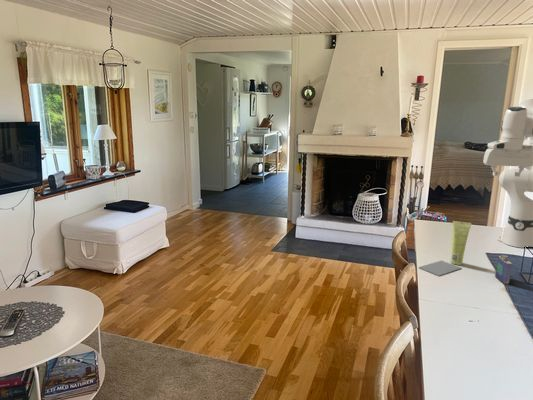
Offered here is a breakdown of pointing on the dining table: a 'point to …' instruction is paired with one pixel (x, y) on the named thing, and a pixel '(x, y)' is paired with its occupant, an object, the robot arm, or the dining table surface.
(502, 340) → the dining table surface
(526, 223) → the robot arm
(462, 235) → the tube
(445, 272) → the felt mat
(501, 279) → the blue purple box
